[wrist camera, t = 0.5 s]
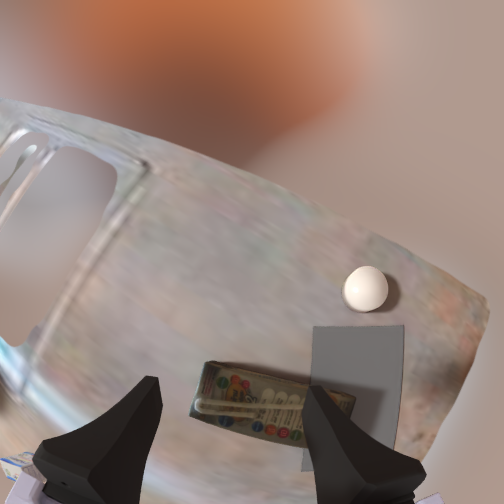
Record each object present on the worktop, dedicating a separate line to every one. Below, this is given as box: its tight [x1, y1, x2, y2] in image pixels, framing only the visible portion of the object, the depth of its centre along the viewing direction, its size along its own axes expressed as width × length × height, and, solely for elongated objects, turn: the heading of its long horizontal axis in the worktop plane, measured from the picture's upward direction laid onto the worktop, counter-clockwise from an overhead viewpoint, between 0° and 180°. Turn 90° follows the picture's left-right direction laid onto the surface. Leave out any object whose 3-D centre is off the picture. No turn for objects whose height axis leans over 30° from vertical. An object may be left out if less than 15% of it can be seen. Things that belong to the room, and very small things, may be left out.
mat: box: [301, 325, 404, 472], centre depth 33 cm, size 22×14×1 cm, turn 176°
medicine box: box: [0, 452, 47, 482], centre depth 25 cm, size 8×4×9 cm, turn 104°
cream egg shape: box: [341, 266, 388, 313], centre depth 37 cm, size 6×6×4 cm
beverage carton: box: [188, 361, 356, 449], centre depth 31 cm, size 8×19×7 cm, turn 74°
